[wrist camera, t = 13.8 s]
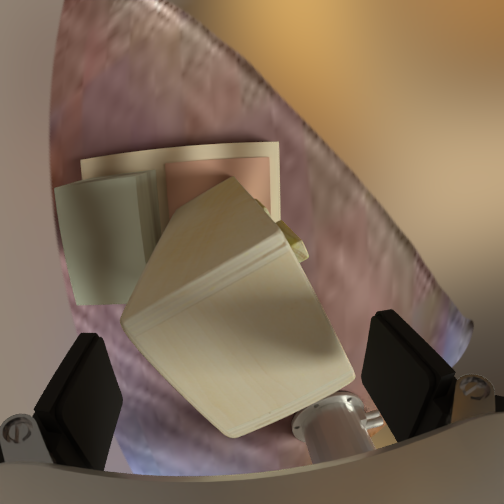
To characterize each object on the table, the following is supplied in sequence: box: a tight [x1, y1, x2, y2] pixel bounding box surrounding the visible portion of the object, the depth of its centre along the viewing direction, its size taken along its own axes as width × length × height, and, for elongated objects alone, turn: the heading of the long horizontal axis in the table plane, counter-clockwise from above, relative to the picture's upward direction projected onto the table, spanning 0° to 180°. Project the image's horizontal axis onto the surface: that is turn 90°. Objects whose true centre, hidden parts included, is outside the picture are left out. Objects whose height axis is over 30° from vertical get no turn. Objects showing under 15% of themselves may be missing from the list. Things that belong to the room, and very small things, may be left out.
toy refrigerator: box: [120, 176, 355, 438], centre depth 21 cm, size 8×7×21 cm
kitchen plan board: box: [54, 142, 280, 305], centre depth 28 cm, size 20×14×11 cm
